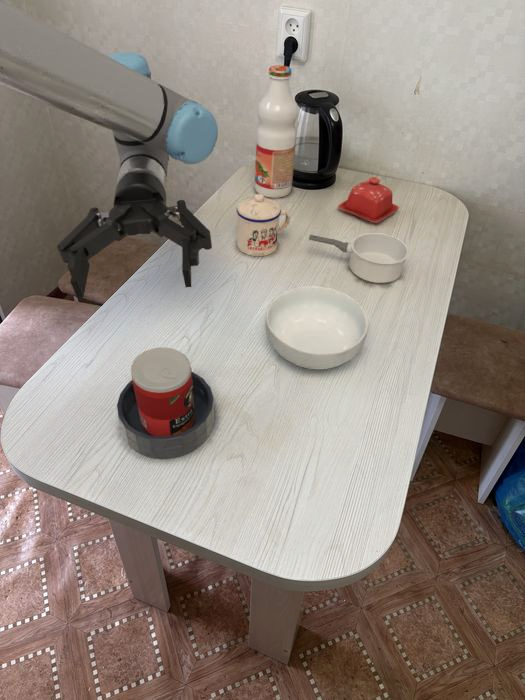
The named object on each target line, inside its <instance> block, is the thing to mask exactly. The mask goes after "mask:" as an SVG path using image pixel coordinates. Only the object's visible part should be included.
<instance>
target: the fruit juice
mask: <svg viewBox="0 0 525 700" xmlns="http://www.w3.org/2000/svg"><path fill="white" fill-rule="evenodd" d="M268 77H269V83H268V86H267V87H268V88H267V90H266V93H265V95H264V96H263V97H262V99H261V100H260V101H259V103H258V107H257V117H258V122H259V123H258V126H257V129H256V135H255V164H254V170H255V171H254V189H255V192H256V194H262V195H263V196H264V198H269V199H277V198H278V199H279V198H284V197H286V196H288V195H290V193H291V192H292V187H293V179H294V178H293V177H294V165H295V153H296V144H297V131H296V126H295V124H296V121H297V118H298V114H299V113H298V112H299V111H298V105H297V103H296V101H295V99H294V98H293V95H292V92H291V87H290V86H291V85H290V79H291V77H292V68H291V67H290V66H287V65H280V64H279V65H276V64H275V65H271V66H269V68H268Z"/></svg>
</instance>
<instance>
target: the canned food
mask: <svg viewBox="0 0 525 700" xmlns="http://www.w3.org/2000/svg"><path fill="white" fill-rule="evenodd" d="M130 366H131V367H130V374H131V375H130V376H131V381H133V386H134V391H135V396H136V401H137V406H138V411H139V415H140V420H141V424H142V426H143V427H144V429H145V430H146V431H147V433H149V434H150V435H151V436H170V435H175V434H180V433H182V432H184V431H186V430H188V429H190V428H191V427H192V425H193V422H194V419H195V410H194V396H193V382H192V372H193V371H192V365H191V361H190V360H189V358H188V357H187V356H186V355H185V354H184V353H183V352H181V351H180V350H177V349H175V348H171V347H154V348H150V349H147V350H145V351H143V352H141V353H140V354H139V355H137V356H136V357H135V359H134V360H133V361H132V364H131V365H130Z"/></svg>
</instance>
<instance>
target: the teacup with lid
mask: <svg viewBox="0 0 525 700" xmlns="http://www.w3.org/2000/svg"><path fill="white" fill-rule="evenodd" d="M235 211H236V214H237V225H236V227H237V229H236V231H237V232H236V233H237V238H236V242H237V244H236V245H237V248H238V249H239V251H240V252H242V253H243V254H245V255H248V256H253V257H265V256H269V255H271V254H273V253H274V252H275V251H276V250H277V248H278V241H279V234H280V233H283V232H284V231H285V230H286V229H287V228H288V227H289V225H290V222H291V215H290V213H289V211H287V210H285V209H281V206H280V205H279V204H278V202H276V201H275V200H273V199H272V198H269V197H265V196H263V195H262V194H259V193H256V194H255V195H254V197H247V198H245V199H243V200H241V201H240V202H239V203H238V204H237V206H236V210H235ZM280 216H285V220H284V222H283V224H282V225H281V226H279V224H280Z"/></svg>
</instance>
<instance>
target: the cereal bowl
mask: <svg viewBox="0 0 525 700" xmlns="http://www.w3.org/2000/svg"><path fill="white" fill-rule="evenodd" d="M368 320H369V319H368V315H367V313H366V311H365V309H364V308H363V306H362V305H361V304H360V303H359V302H358V301H357V300H356V299H354V298H353V297H351V296H350V295H348V294H347V293H345V292H343V291H340V290H338V289H334V288H331V287H327V286H319V285H318V286H317V285H303V286H297V287H293V288H289V289H287V290H284V291H283V292H281V293H279V294H277V295H275V297H273V299H272V300H271V301H270V303H269V304H268V306H267V308H266V311H265V325H264V326H265V330H266V335H267V339H268V341H269V343H270V344H271V346H272V348H273V349H274V350H275V351H276V353H277V354H278V355H280V357H282V358H283V359H284V360H286V361H288V362H289V363H291V364H293V365H296V366H297V367H301V368H305V369H310V370H311V369H312V370H326V369H327V370H328V369H332V368H336V367H339V366H341V365H344V364H345V363H348V361H350V360H351V359H353V358H354V357H356V355H358V353H359V352H360V351H361V349H362V347H363V345H364V344H365V341H366V338H367V335H368V330H369V321H368Z"/></svg>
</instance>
